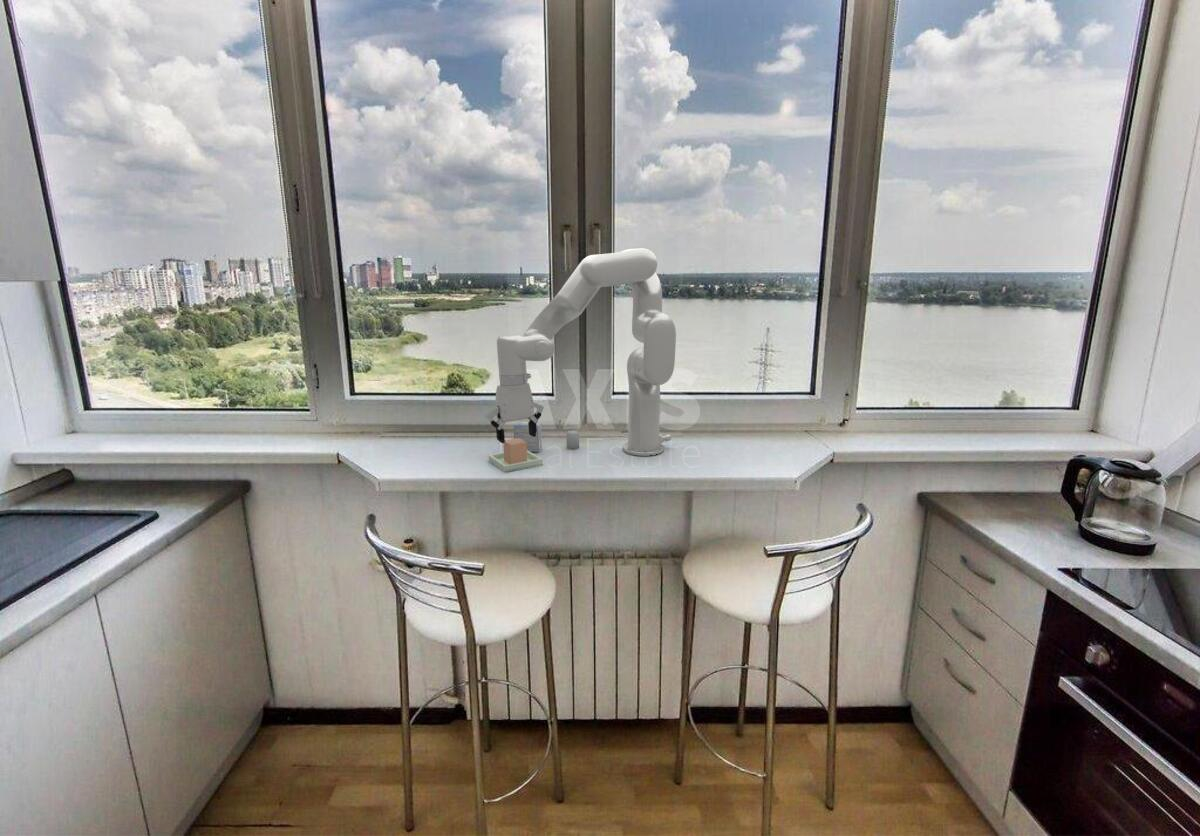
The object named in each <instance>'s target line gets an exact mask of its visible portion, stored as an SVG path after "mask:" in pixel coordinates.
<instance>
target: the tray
mask: <svg viewBox="0 0 1200 836" xmlns="http://www.w3.org/2000/svg"><path fill="white" fill-rule="evenodd" d="M488 462H489V463H491V464H493V465H494V466H495V467H496V468H497V469H499V470H500V471H502V472H503V471H504V472H503V473H505V472H506V473H510V472H515V471H520V470H525V469H531V468H536V467H541V466H543V465H544V464H543V463H544V462H543V458H542V457H540V456H538V455H537V454H535V453H534V452H530V451H528V450H527V461H525V462H520V463H515V464H508V463H507V462H506V461H504V451H503V452H498V453H493V454H488Z"/></svg>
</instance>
